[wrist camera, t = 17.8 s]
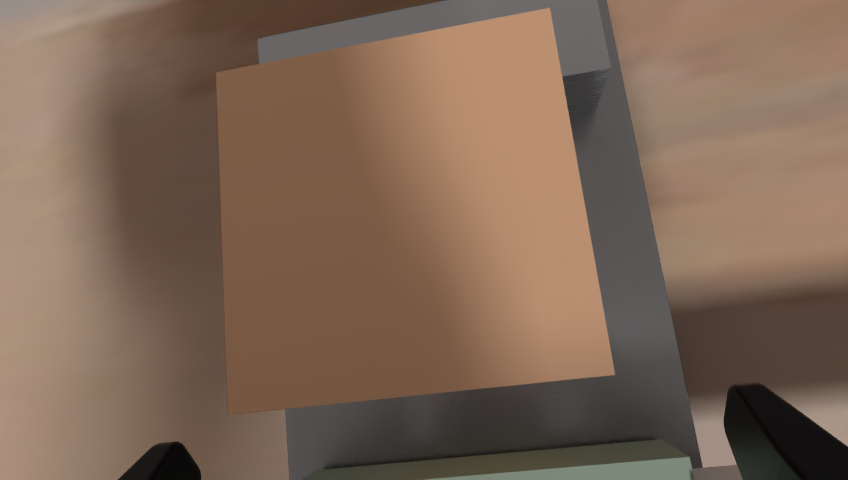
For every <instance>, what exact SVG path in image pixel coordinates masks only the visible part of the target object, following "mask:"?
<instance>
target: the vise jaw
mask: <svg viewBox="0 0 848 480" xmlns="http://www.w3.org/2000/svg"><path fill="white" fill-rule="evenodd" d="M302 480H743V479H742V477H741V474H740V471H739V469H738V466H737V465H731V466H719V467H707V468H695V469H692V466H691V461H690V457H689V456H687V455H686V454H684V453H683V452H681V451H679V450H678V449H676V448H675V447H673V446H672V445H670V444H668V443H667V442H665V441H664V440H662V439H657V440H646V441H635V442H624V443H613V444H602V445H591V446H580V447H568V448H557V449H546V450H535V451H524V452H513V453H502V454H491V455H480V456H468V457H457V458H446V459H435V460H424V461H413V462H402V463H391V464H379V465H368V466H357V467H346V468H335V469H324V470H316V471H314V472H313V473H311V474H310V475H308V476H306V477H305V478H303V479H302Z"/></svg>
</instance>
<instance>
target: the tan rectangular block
mask: <svg viewBox="0 0 848 480" xmlns="http://www.w3.org/2000/svg"><path fill="white" fill-rule="evenodd" d="M216 89H217V118H218V147H219V176H220V205H221V234H222V263H223V292H224V321H225V350H226V379H227V408H228V415H232V414H241V413H251V412H261V411H270V410H280V409H290V408H299V407H309V406H319V405H328V404H338V403H348V402H357V401H367V400H377V399H386V398H396V397H406V396H415V395H425V394H435V393H444V392H454V391H464V390H473V389H483V388H493V387H502V386H512V385H522V384H531V383H541V382H551V381H560V380H570V379H580V378H590V377H599V376H609V375H615V371H614V366H613V360H612V354H611V349H610V343H609V337H608V332H607V326H606V321H605V315H604V309H603V304H602V298H601V292H600V287H599V281H598V276H597V270H596V264H595V259H594V253H593V247H592V242H591V236H590V231H589V225H588V219H587V214H586V208H585V202H584V197H583V191H582V186H581V180H580V174H579V169H578V163H577V157H576V152H575V146H574V141H573V135H572V129H571V124H570V118H569V112H568V107H567V101H566V96H565V90H564V84H563V79H562V73H561V67H560V62H559V56H558V51H557V45H556V39H555V34H554V28H553V22H552V17H551V11H550V8H546V9H540V10H535V11H530V12H525V13H520V14H515V15H509V16H504V17H499V18H494V19H489V20H484V21H478V22H473V23H468V24H463V25H458V26H453V27H447V28H442V29H437V30H432V31H427V32H422V33H416V34H411V35H406V36H401V37H396V38H390V39H385V40H380V41H375V42H370V43H365V44H359V45H354V46H349V47H344V48H339V49H334V50H328V51H323V52H318V53H313V54H308V55H303V56H297V57H292V58H287V59H282V60H277V61H272V62H266V63H261V64H256V65H251V66H246V67H240V68H235V69H230V70H225V71H220V72H216Z"/></svg>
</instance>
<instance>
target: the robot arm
mask: <svg viewBox="0 0 848 480" xmlns="http://www.w3.org/2000/svg"><path fill="white" fill-rule="evenodd" d="M724 428H725V432H726V436H727V439H728V441H729V444H730V447H731V449H732V452H733V455H734V458H735V460H736V463H737V466H738V469H739V471H740V474H741V477H742V479H743V480H848V447H847V446H846V445H845V444H843V443H842V442H841V441H839V440H838V439H837V438H835V437H834V436H832V435H831V434H830V433H828V432H827V431H826V430H824V429H823V428H822V427H820V426H819V425H817V424H816V423H815V422H813V421H812V420H811V419H809V418H808V417H807V416H805V415H804V414H803V413H801V412H800V411H798V410H797V409H796V408H794V407H793V406H792V405H790V404H789V403H788V402H786V401H785V400H783V399H782V398H781V397H779V396H778V395H777V394H775V393H774V392H773V391H771V390H770V389H768V388H767V387H766V386H764V385H762V384H760V383H744V384H735V385H732V386H731V387H730V388H729V390H728V394H727V401H726V408H725V415H724ZM118 480H201V473H200V469H199V467H198V466H197V464H196V463H195V461H194V460H193V458H192V457H191V455H190V454H189V452H188V451H187V449H186V448H185V446H184V445H183V444H182V443H180V442H166V443H159V444H156V445H154V446H153V447H152V448H150V449H149V450H148V451H147V452H146V453H145V454H144V455H143V456H142V457H141V458H140V459H139V460H138V461H137V462H136V463H135V464H134V465H133V466H132V467H131V468H129V469H128V470H127V471H126V472H125V473H124V474H123V475H122V476H121V477H120V478H119V479H118Z"/></svg>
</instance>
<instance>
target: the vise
mask: <svg viewBox="0 0 848 480" xmlns="http://www.w3.org/2000/svg"><path fill="white" fill-rule="evenodd" d="M546 8H550V11H551V17H552V22H553V28H554V34H555V39H556V45H557V51H558V56H559V62H560V67H561V73H562V79H563V84H564V90H565V96H566V101H567V107H568V112H569V118H570V124H571V129H572V135H573V141H574V146H575V152H576V157H577V163H578V169H579V174H580V180H581V186H582V191H583V197H584V202H585V208H586V214H587V219H588V225H589V231H590V236H591V242H592V247H593V253H594V259H595V264H596V270H597V276H598V281H599V287H600V292H601V298H602V304H603V309H604V315H605V321H606V326H607V332H608V337H609V343H610V349H611V354H612V360H613V366H614V371H615V375H609V376H599V377H590V378H580V379H570V380H560V381H551V382H541V383H531V384H522V385H512V386H502V387H493V388H483V389H473V390H464V391H454V392H444V393H435V394H425V395H415V396H406V397H396V398H386V399H377V400H367V401H357V402H348V403H338V404H328V405H319V406H309V407H299V408H290V409H285V411H286V428H287V445H288V462H289V480H302V479H303V478H305V477H306V476H308V475H310V474H311V473H313V472H314V471H316V470H324V469H335V468H346V467H357V466H368V465H379V464H391V463H402V462H413V461H424V460H435V459H446V458H457V457H468V456H480V455H491V454H502V453H513V452H524V451H535V450H546V449H557V448H568V447H580V446H591V445H602V444H613V443H624V442H635V441H646V440H657V439H662V440H664V441H665V442H667V443H668V444H670V445H672V446H673V447H675V448H676V449H678V450H679V451H681V452H683V453H684V454H686V455H687V456H689V457H690V461H691V466H692V469H695V468H703V467H702V462H701V457H700V453H699V448H698V443H697V438H696V433H695V428H694V423H693V418H692V414H691V409H690V404H689V399H688V394H687V389H686V384H685V380H684V375H683V370H682V365H681V360H680V355H679V350H678V346H677V341H676V336H675V331H674V326H673V321H672V316H671V312H670V307H669V302H668V297H667V292H666V287H665V282H664V278H663V273H662V268H661V263H660V258H659V253H658V248H657V244H656V239H655V234H654V229H653V224H652V219H651V214H650V210H649V205H648V200H647V195H646V190H645V185H644V180H643V176H642V171H641V166H640V161H639V156H638V151H637V146H636V142H635V137H634V132H633V127H632V122H631V117H630V112H629V108H628V103H627V98H626V93H625V88H624V83H623V78H622V73H621V69H620V64H619V59H618V54H617V49H616V44H615V39H614V35H613V30H612V25H611V20H610V15H609V10H608V5H607V1H606V0H442V1H438V2H433V3H428V4H423V5H418V6H413V7H408V8H403V9H398V10H393V11H388V12H383V13H378V14H373V15H368V16H364V17H359V18H354V19H349V20H344V21H339V22H334V23H329V24H324V25H319V26H314V27H309V28H304V29H299V30H294V31H290V32H285V33H280V34H275V35H270V36H265V37H264V38H259V39H258V56H259V64H261V63H266V62H272V61H277V60H282V59H287V58H292V57H297V56H303V55H308V54H313V53H318V52H323V51H328V50H334V49H339V48H344V47H349V46H354V45H359V44H365V43H370V42H375V41H380V40H385V39H390V38H396V37H401V36H406V35H411V34H416V33H422V32H427V31H432V30H437V29H442V28H447V27H453V26H458V25H463V24H468V23H473V22H478V21H484V20H489V19H494V18H499V17H504V16H509V15H515V14H520V13H525V12H530V11H535V10H540V9H546Z"/></svg>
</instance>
